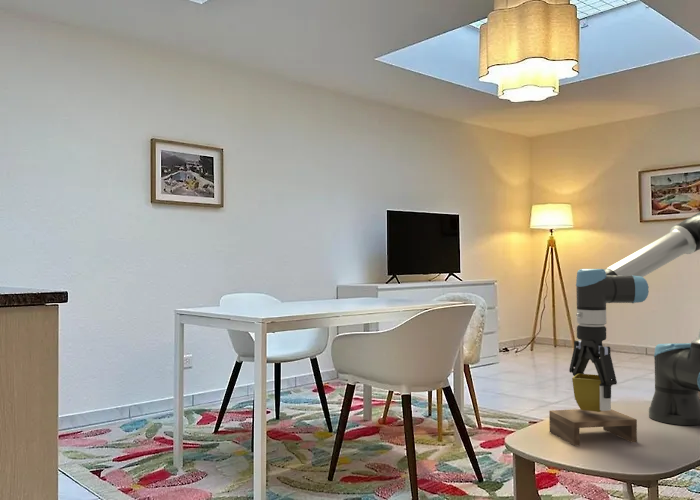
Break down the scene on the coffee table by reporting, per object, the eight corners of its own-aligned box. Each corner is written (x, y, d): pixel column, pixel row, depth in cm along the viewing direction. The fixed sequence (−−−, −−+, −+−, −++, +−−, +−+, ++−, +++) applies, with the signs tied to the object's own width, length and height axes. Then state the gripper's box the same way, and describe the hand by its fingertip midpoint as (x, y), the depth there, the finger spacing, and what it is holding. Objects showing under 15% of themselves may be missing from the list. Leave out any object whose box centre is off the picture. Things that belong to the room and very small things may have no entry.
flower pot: (578, 404, 174) (578, 372, 174) (611, 408, 170) (611, 375, 170) (572, 411, 166) (571, 377, 167) (606, 415, 162) (606, 380, 162)
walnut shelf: (608, 429, 176) (607, 408, 176) (636, 442, 163) (636, 419, 163) (549, 432, 173) (549, 410, 173) (574, 445, 160) (574, 422, 160)
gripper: (556, 321, 180) (556, 395, 179) (604, 330, 156) (605, 416, 156) (580, 320, 181) (580, 394, 181) (631, 329, 157) (632, 414, 157)
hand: (592, 404), depth 168 cm, fingers closed on flower pot, 12 cm apart
